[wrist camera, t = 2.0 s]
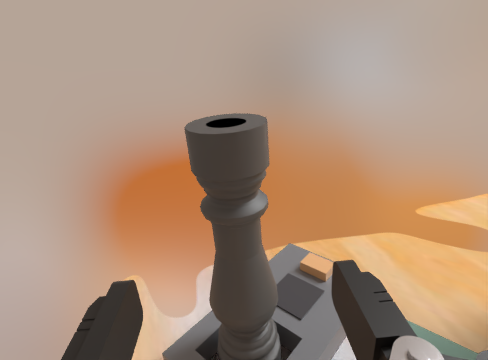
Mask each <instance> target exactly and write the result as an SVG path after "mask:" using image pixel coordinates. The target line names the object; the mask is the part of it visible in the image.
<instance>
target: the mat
mask: <svg viewBox="0 0 488 360" xmlns="http://www.w3.org/2000/svg"><path fill="white" fill-rule="evenodd" d="M407 322H408V323H409V325H410V326H411V328H412V329H413V331H414V332H415V334H416V335H417V336H418V337H419V338H422V339H424V340H426V341H428V342H429V343H431V344H432V345H433V346H435V347H436V348H437V349H438V350H439V352H440V353H441V354H444V355H448V356H452V357H457V358H463V359H468V360H476V357H477V355H478V353H476V352H474V351H471V350H469V349H467V348H465V347H463V346H461V345H459V344H456V343H454V342H452V341H450V340H448V339H446V338H444V337H442V336H439V335H437V334H435V333H433V332H431V331H429V330H427V329H425V328H422V327H420V326H418V325H416V324H414V323H412V322H410V321H407Z"/></svg>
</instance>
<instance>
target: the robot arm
mask: <svg viewBox="0 0 488 360" xmlns="http://www.w3.org/2000/svg"><path fill="white" fill-rule="evenodd" d="M331 293H332V300H333V304H334V307H335V310H336V312H337V314H338V317H339V319H340V321H341V324H342V326H343V328H344V331H345V333H346V336H347V338H348V340H349V343H350V345H351V347H352V350H353V352H354V354H355V357H356V359H357V360H468V359H463V358H457V357H452V356H448V355H444V354H441V353H440V352H439V350H438V349H437V348H436V347H435V346H433V345H432V344H431V343H429V342H428V341H426V340H424V339H422V338H419V337H418V336H417V335H416V334H415V332H414V331H413V329H412V328H411V326H410V325H409V323H408V322H407V320H406V319H405V317H404V316H403V314H402V313H401V311H400V310H399V308H398V307H397V305H396V304H395V302H393V299H392V298H391V296H390V295H389V293H387V290H386V289H385V287H384V286H383V284H382V283H381V281H380V280H379V279H377V278H376V277H375V276H373V275H372V274H371V273H370V272H361V271H360V270H359V268H358V266H357V265H356V263H355V262H354V261H353V260H346V261H335V262H334V263H333V271H332V289H331ZM142 321H143V310H142V305H141V302H140V298H139V294H138V291H137V287H136V283H135V281H134V280H128V281H117V282H113V283H112V285H111V287H110V289H109V291H108V293H107V295H106V296H103V297H99V298H98V299H97V300H96V301H95V302H94V303H93V304H92V305H91V306H90V307H89V308H88V310H87V312H86V313H85V315H84V317H83V319H82V322H81V323H80V325H79V327H78V328H77V332H75V334H74V336H73V338H72V340H71V342H70V343H69V346H68V347H67V349H66V351H65V353H64V355H63V357H62V359H61V360H131V359H132V356H133V353H134V349H135V346H136V343H137V339H138V336H139V333H140V329H141V326H142ZM476 360H488V350H487V351H482V352H480V353H479V354H478V355H477V357H476Z"/></svg>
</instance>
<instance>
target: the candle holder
mask: <svg viewBox="0 0 488 360" xmlns="http://www.w3.org/2000/svg"><path fill="white" fill-rule="evenodd" d="M185 134H186V139H187V146H188V153H189V159H190V165H191V171H192V172H193V174H194V175H195V176H197V181H198V182H199V184H200V185H201V186H202V187H203V188H204V191H205V192H206V193H207V196H206V197H205V198H204V199H203V200H202V202H201V206H200V208H201V212H202V213H203V215H204V216H205V218H206V219H207V220H209V221H211V223H212V227H213V235H214V242H215V248H216V254H215V261H214V269H213V276H212V284H211V291H210V299H209V300H210V305H211V308H212V310H213V312H214V315H215V317H216V318H217V319H218V320H219V321H220V322H221V325H220V327H219V335H218V349H217V351H218V357H219V360H281V346H280V338H279V334H278V333H277V327H276V324H275V322H274V320H273V319H272V316H273V314H274V311H275V309H276V306H277V303H278V292H277V285H276V282H275V279H274V277H273V274H272V271H271V268H270V265H269V263H268V260H267V257H266V254H265V251H264V248H263V245H262V240H261V225H260V217H261V216H262V215H263V214H264V212H265V211H266V209H267V208H268V199H267V195H266V194H264V193H263V192H262V191H261V190H260V189H259V188H260V187H261V182H262V180H263V179H264V178H265V176H266V171H265V169H266V168H267V167H268V166H269V149H268V127H267V119H266V118H265V117H263V116H260V115H255V114H224V115H216V116H210V117H205V118H202V119H198V120H194V121H192V122H190V123H188V124H187V125H186V126H185Z"/></svg>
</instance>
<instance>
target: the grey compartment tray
mask: <svg viewBox="0 0 488 360" xmlns="http://www.w3.org/2000/svg"><path fill="white" fill-rule="evenodd" d="M268 263H269V265H270V268H271V271H272V274H273V277H274V279H275V282H276V285H277V292H278V303H277V306H276V309H275V311H274V314H273V316H272V319H273V320H274V322H275V324H276V327H277V333H278V334H279V338H280V344H281V345H283V346H284V347H285V348H287V349H288V350H290V351H291V352H292V353H291V354H290V356H289V357H288V358H287V359H286V360H331V359H332V357H333V356H334V354H335V353H336V351H337V350H338V348H339V346H340V345H341V343H342V342H343V340H344V339H345V337H346V333H345V331H344V328H343V326H342V324H341V321H340V319H339V317H338V314H337V312H336V310H335V307H334V304H333V300H332V293H331V289H332V271H333V263H334V261H331V260H329V259H326V258H324V257H322V256H319V255H317V254H314V253H312V252H310V251H307V250H305V249H302V248H300V247H297V246H295V245H293V244H288V245H287V246H286V247H285V248H284V249H283V250H281V251H280V252H279V253H278V254H277V255H276V256H275V257H273V258H272V259H271V260H270V261H269V262H268ZM220 325H221V322H220V321H219V320H218V319H217V318H216V317H215V315H214V312H213V310H212V311H211V312H210V313H208V314H207V315H206V316H205V317H204V318H203V319H202V320H200V321H199V322H198V323H197V324H196V325H195V326H193V327H192V328H191V329H190V330H189V331H188V332H186V333H185V334H184V335H183V336H182V337H181V338H180V339H178V340H177V341H176V342H175V343H174V344H173V345H171V346H170V347H169V348H168V349H167V350H166V351H164V352H163V353H162V354H163V358H164V360H210V359H211V358H212V357H213V356H214V355H215V354H216V353H217V352H218V351H217V349H218V335H219V327H220Z"/></svg>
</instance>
